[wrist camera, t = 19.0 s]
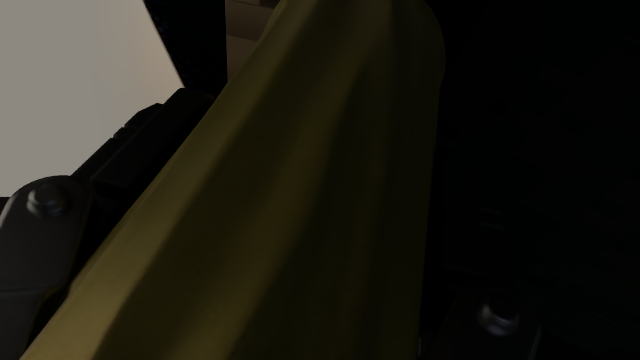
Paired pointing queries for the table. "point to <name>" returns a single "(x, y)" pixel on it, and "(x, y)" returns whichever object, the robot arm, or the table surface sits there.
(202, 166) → the vase
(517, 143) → the table surface
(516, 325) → the robot arm
